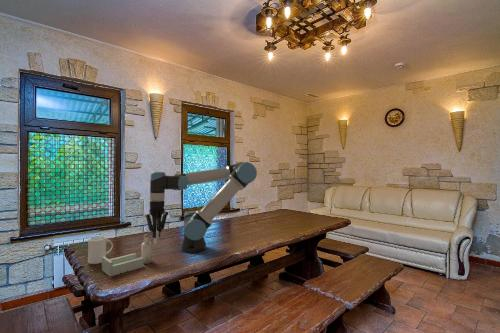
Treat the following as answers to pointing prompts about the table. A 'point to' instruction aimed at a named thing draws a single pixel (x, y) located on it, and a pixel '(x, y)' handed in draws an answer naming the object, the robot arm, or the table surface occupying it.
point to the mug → (97, 249)
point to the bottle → (146, 249)
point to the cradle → (121, 264)
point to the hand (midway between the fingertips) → (156, 243)
